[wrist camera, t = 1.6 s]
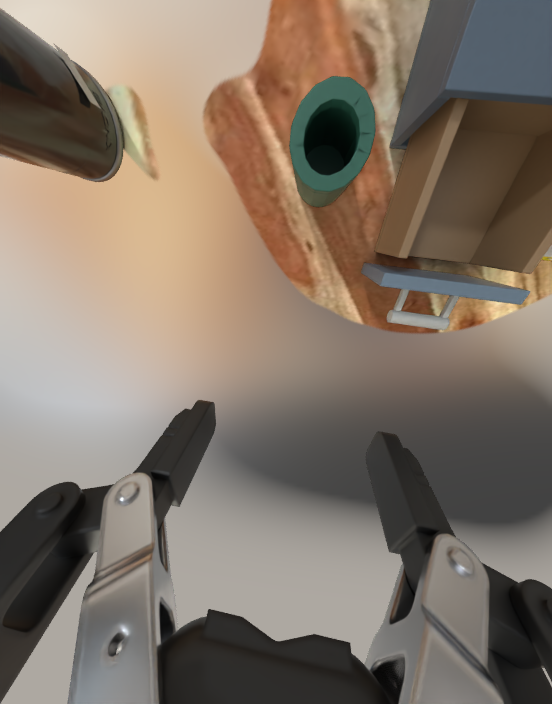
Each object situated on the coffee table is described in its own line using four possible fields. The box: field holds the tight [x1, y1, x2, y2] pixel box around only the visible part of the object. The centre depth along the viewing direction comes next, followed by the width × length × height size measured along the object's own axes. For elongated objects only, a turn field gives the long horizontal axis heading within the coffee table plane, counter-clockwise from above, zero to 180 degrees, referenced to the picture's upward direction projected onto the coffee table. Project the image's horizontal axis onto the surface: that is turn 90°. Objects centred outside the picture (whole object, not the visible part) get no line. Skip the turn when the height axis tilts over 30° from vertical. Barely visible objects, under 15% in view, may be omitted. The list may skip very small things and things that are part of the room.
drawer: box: [361, 97, 552, 330], centre depth 20 cm, size 18×12×8 cm
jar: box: [289, 76, 375, 207], centre depth 18 cm, size 6×6×10 cm
